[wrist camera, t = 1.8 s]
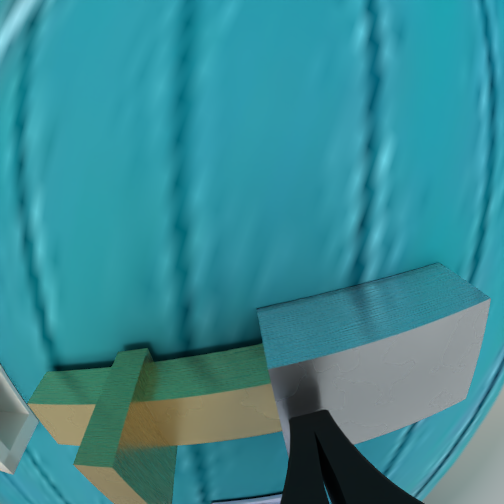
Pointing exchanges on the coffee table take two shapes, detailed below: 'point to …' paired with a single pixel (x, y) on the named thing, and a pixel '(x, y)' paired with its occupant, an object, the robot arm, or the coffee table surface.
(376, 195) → the coffee table surface
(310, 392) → the sleeve
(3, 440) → the socket
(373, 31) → the coffee table surface
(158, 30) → the coffee table surface
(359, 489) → the robot arm
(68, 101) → the coffee table surface
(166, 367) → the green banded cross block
